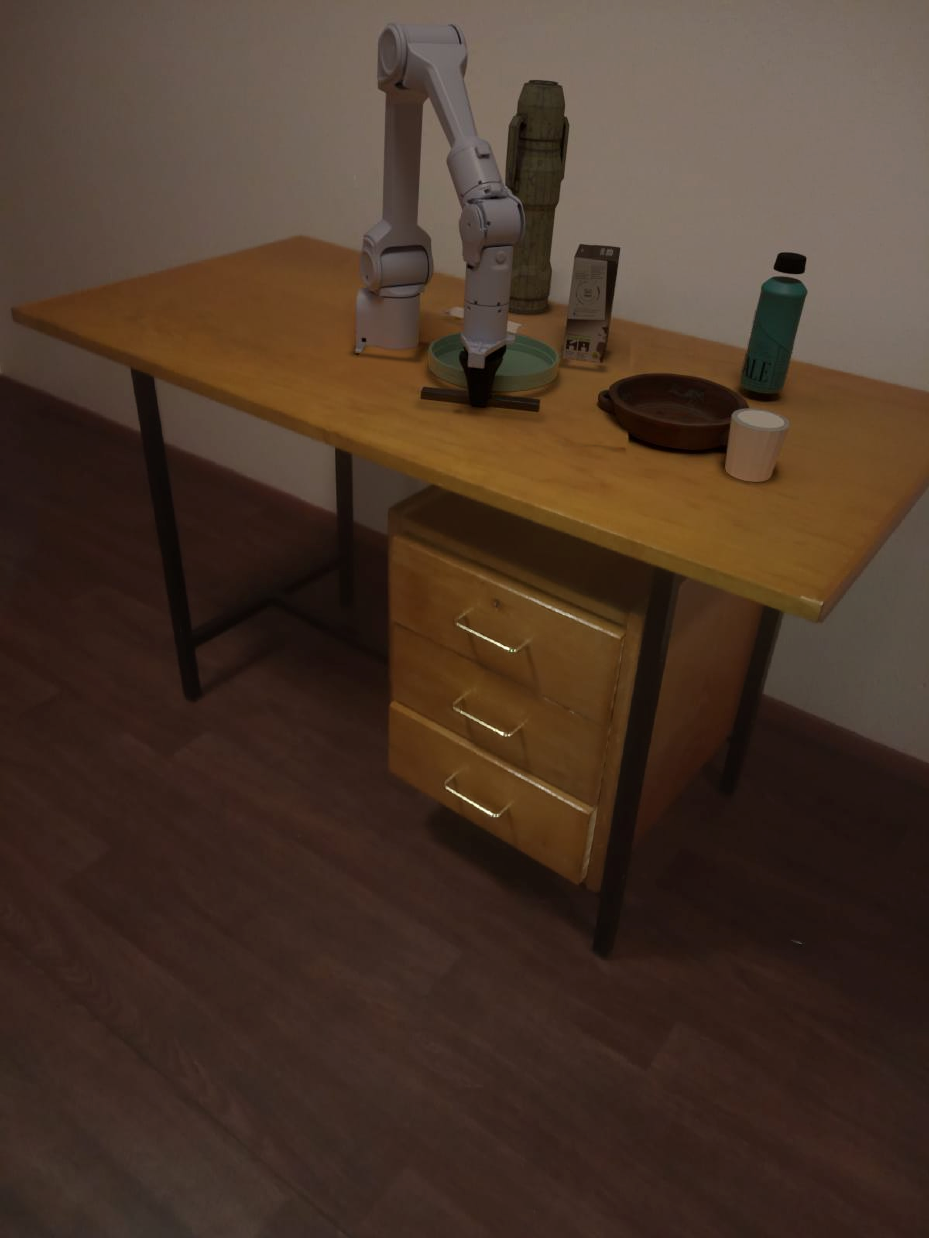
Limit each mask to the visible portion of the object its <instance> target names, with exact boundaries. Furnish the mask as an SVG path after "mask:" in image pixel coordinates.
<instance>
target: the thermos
mask: <svg viewBox="0 0 929 1238" xmlns="http://www.w3.org/2000/svg"><path fill="white" fill-rule="evenodd" d="M518 96H519V97H518V99H517V106H516V113H515V115H513V116H512V118H511V120H510V122H509V124H508V130H507V131H508V132H507V144H506V158H505V173H504V187H506V189H509V190H511V192H512V194H513V195H514V196H516V197H517V198H518V199H519V200H520V201H521V203H522V206H523V210H524V214H525V232H524V236H523V239H522V241H521V243H520V244H519V245H518V246H515V247H513V248H514V250H513V262H512V274H511V287H510V299H509V311H508V313H513V314H521V315H537V314H541V313H545V312H546V311H548V305H549V304H548V301H549V296H550V294H551V287H552V286H551V285H552V277H553V267H552V264H551V256H552V255H551V254H552V247H553V245H552V244H553V238H554V237H553V235H554V228H555V217H556V216H555V215H556V209H557V207H558V204H559V202H560V197H561V196H560V195H561V186H562V182H563V180H564V179H565V173H566V164H567V163H566V162H567V153H568V146H569V145H568V143H569V133H570V122H569V118H568V117H567V116H566V115H565V112H566V101H565V100H566V99H565V95H564V89H563V85H561V84H559V82H557V81H554V80H545V79H530V80H528V82H524V83H523V86H522V88H521V91H520V93H519V95H518Z"/></svg>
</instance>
